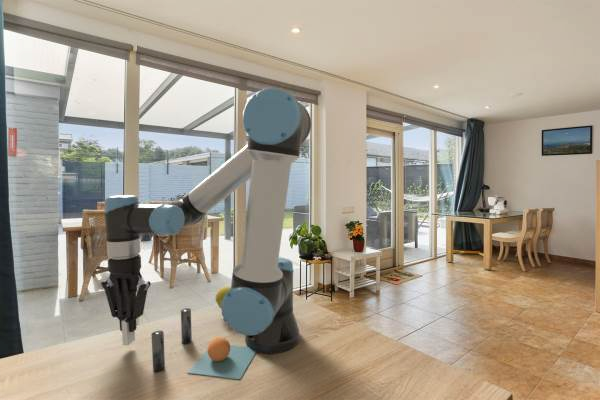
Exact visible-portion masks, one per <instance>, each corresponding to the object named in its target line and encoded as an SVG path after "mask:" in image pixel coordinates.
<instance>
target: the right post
mask: <svg viewBox="0 0 600 400" xmlns="http://www.w3.org/2000/svg"><path fill="white" fill-rule="evenodd" d="M180 324H181V325H180V326H181V328H180V329H181V343H182V344H183V345H187V344H191V342H193V340H192V339H193V338H192V337H193V334H192V331H193V330H192V309H191V308H187V307H186V308H182V309H181V310H180Z"/></svg>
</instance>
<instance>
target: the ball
mask: <svg viewBox="0 0 600 400" xmlns="http://www.w3.org/2000/svg"><path fill="white" fill-rule="evenodd" d="M230 345H231V344H230V342H229V340H228V339H226V337H222V336H221V337H220V336H218V337H215V338H213V339H212V340H211V341H210V342H209V344H208V346H207V349H208V355H209V357H210V358H211V359H212V360H214V361H222V360H224V359H225V358H226V357H227V356H228V355H229V352H230Z"/></svg>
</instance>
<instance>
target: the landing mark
mask: <svg viewBox="0 0 600 400" xmlns="http://www.w3.org/2000/svg"><path fill="white" fill-rule="evenodd" d="M256 353H257V351H254V350H252V349H250V348H249V347H248V346H242V345H235V344H233V345H232V344H230V352H229V355H228V356H227V357H226V358H225V359H224V360H222V361H214V360H212V359H211V358H210V357H209V355H208V348H207V349H206V350H205V351H204V352H203V354H202V355H201V356H200V357H199V358H198V360H197V361H196V362H195V363H194V364H193V366H191V368H189V370H188V371H187V374H189V375H198V376H203V377H205V376H206V377H214V378H220V379H221V378H222V379H228V380H229V379H230V380H238V381H241V379H242V378H243V376H244V374H245V372H246V371H247V369H248V368H249V365H250V364H251V362H252V360H253V359H254V356H255V354H256Z"/></svg>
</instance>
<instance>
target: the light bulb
mask: <svg viewBox="0 0 600 400" xmlns="http://www.w3.org/2000/svg"><path fill="white" fill-rule="evenodd" d="M230 289H231V286H224V287H222V288H219V290H218V291H217V292H216V294H215V302H216V304H217V306H218V307H219V308H220V309H221V305H222V300H223V298H224V296H225V295H226V293H227V292H228V291H229V290H230ZM221 316H222V319H223V320H225V319H224V318H223V315H222V314H221Z"/></svg>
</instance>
